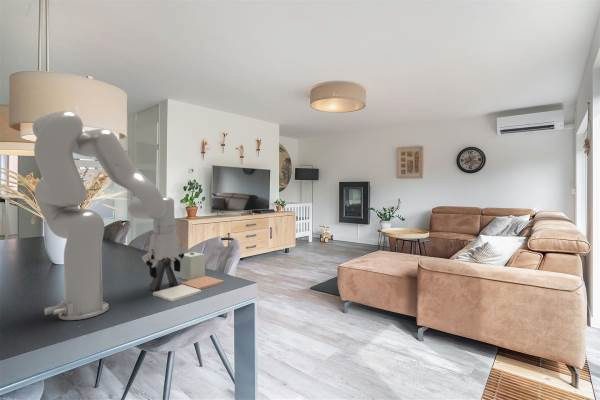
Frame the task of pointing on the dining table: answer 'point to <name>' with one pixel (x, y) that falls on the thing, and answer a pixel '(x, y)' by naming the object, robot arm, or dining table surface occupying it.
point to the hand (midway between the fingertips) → (165, 274)
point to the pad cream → (177, 292)
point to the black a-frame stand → (160, 271)
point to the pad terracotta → (202, 282)
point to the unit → (192, 266)
